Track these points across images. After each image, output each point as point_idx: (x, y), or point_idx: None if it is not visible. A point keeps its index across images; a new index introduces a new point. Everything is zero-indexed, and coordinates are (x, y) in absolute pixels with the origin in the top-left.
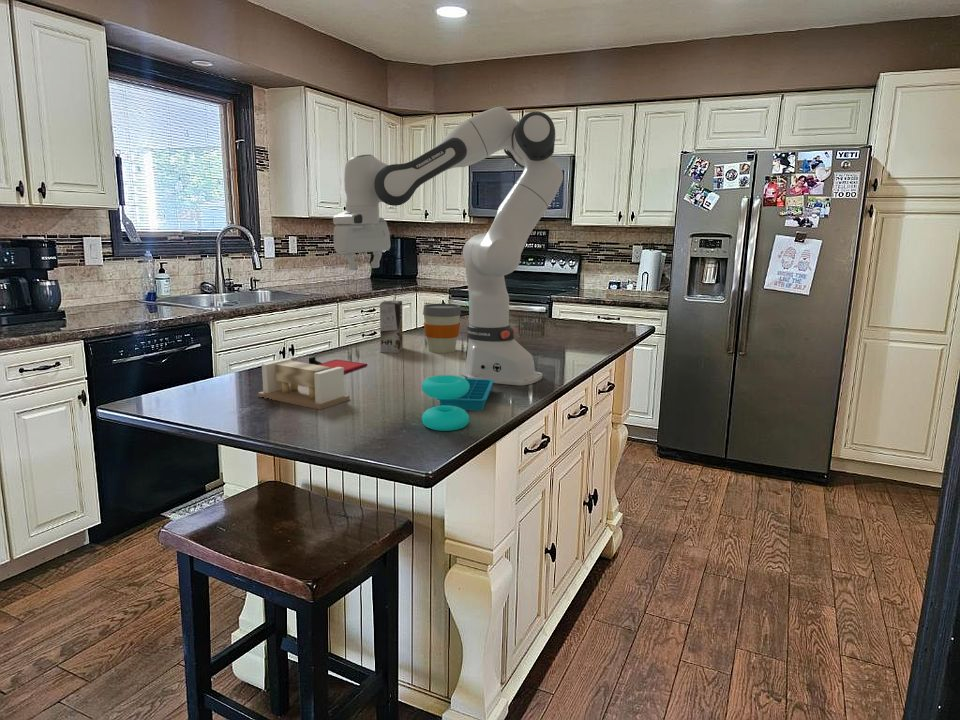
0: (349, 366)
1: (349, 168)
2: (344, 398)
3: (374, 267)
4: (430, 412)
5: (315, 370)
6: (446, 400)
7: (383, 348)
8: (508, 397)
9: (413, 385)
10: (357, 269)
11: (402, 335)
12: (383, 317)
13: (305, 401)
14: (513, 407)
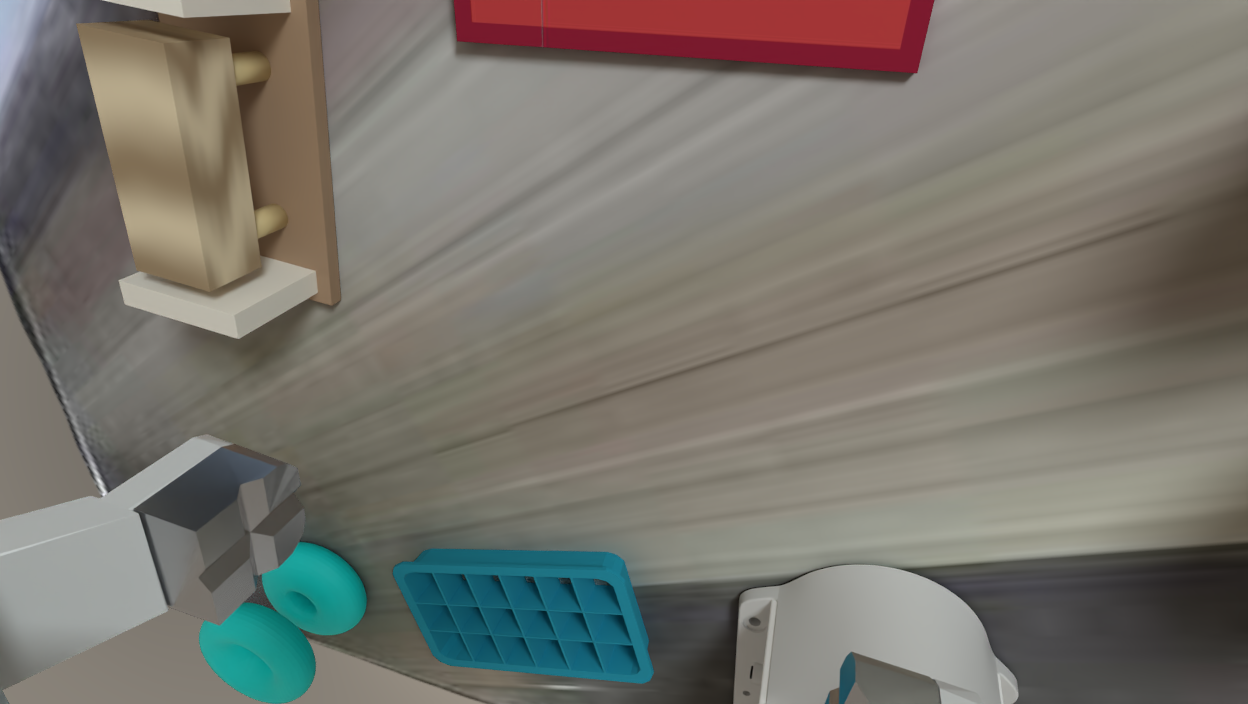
0: (792, 9)
1: None
2: (312, 297)
3: (828, 698)
4: (268, 579)
5: (142, 263)
6: (410, 582)
7: None
8: (598, 684)
9: (602, 434)
10: (299, 537)
11: None
12: None
13: None
14: (518, 690)
